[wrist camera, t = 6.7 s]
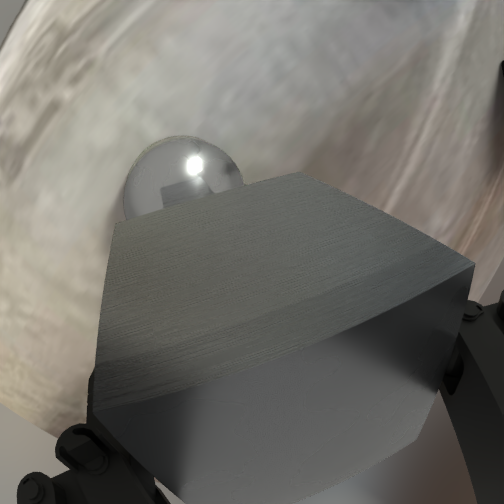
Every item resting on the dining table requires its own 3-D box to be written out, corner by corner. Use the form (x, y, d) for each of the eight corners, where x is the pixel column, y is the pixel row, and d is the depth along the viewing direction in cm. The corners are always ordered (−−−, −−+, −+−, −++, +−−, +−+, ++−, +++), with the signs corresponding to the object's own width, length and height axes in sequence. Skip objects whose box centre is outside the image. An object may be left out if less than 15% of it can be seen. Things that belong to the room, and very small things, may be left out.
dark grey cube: (174, 363, 14) (216, 527, 7) (115, 223, 11) (92, 413, 4) (314, 315, 15) (416, 439, 8) (299, 171, 12) (475, 263, 5)
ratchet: (113, 153, 24) (96, 176, 15) (220, 123, 25) (258, 131, 17) (176, 334, 33) (192, 404, 24) (258, 307, 34) (294, 369, 26)
